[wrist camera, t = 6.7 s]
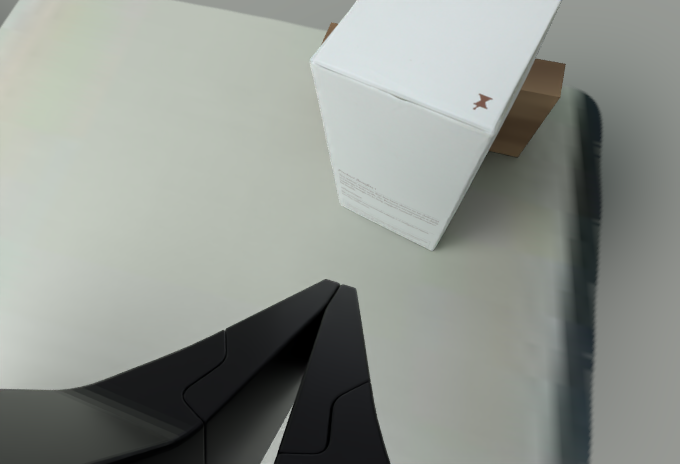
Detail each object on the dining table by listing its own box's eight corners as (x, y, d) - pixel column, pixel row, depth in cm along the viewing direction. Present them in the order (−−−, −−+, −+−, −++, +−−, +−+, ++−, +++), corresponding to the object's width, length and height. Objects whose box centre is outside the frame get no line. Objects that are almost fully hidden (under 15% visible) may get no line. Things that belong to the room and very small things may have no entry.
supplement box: (480, 166, 25) (577, -10, 13) (432, 255, 23) (496, 140, 11) (386, 125, 27) (398, -63, 15) (334, 204, 25) (303, 59, 13)
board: (517, 157, 25) (560, 97, 20) (329, 114, 28) (318, 50, 22) (523, 129, 26) (565, 63, 20) (338, 90, 28) (331, 22, 23)
